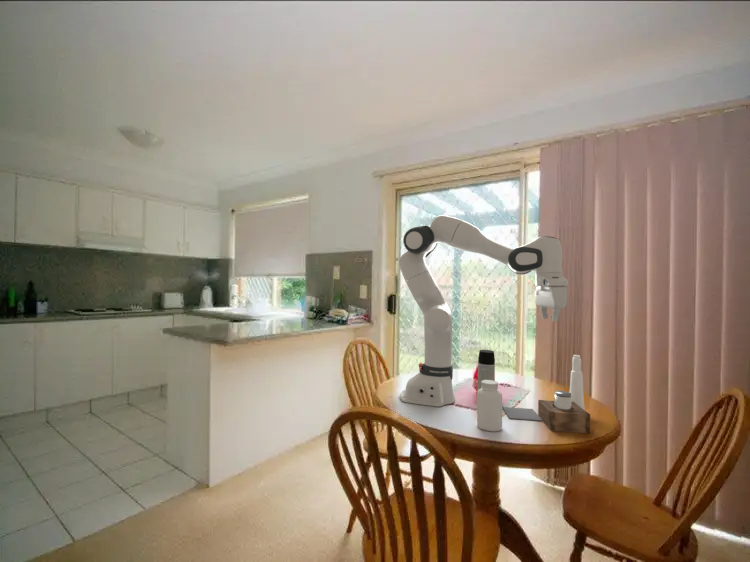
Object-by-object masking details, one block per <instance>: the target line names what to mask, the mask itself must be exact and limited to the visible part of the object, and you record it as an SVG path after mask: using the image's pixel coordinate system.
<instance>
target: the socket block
mask: <svg viewBox="0 0 750 562" xmlns="http://www.w3.org/2000/svg"><path fill="white" fill-rule="evenodd" d="M537 403H538V406H537V407H538V411H537V412H538V413H537V415H538V416H539V417H540V418H541V419H542V420H543V421H542V423H543V424H544V425H545V426H546V427H547V428H548V429H549V430H550V431H553V432H554V431H555V432H556V431H557V432H568V433H581V434H591V414H590V413H589V412H588V411H587V410H586V409H585V410H584V409H582V408H581V407H580V406H578V405H577V404H576V403H575V402H571V410H561V409H558V408H555V400H548V399H538V402H537Z"/></svg>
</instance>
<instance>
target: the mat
mask: <svg viewBox="0 0 750 562" xmlns="http://www.w3.org/2000/svg"><path fill="white" fill-rule="evenodd" d="M503 409H504V410H503ZM502 410H503V411H504V413H505V414H506V416H507V417H508V419H509V420H516V421H517V420H519V421H521V420H522V421H531V422H532V421H534V422H543V420H542V419H541V418H540V417H539V416H538V413H536V411H535V410H534V409H533V408H524V407H510V406H502Z"/></svg>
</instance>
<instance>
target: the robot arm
mask: <svg viewBox="0 0 750 562" xmlns="http://www.w3.org/2000/svg"><path fill="white" fill-rule="evenodd" d="M402 240H403V246H404V248H405V249H406V252H405V253H403V254H402V255H400V257H399V259H398V264H399V268H400V271H401V273H402V274H401V275H402V276H403V279H404V281H405V283H406V285H407V288H408V289H409V292H410V293H411V295H412V297H413V299H414V301H415V302H416V304H417V306H418V308H419V309H420V311H421V313H422V314H423V316H424V317H423V318H424V319H423V325H424V326H423V333H424V337H423V338H424V363H423V362H419V363H418V369H419V372H418V373H417V374H415V375H413V376H412V377H411V378H410V379H408V381H407V382H406V385H405V388H404V390H402V391H401V392H400V395H399V399H400V400H401V402H403V403H408V404H416V405H423V406H430V407H439V408H440V407H443V406H446V405H450V404H453V403H455V401H456V398H455V397H456V396H455V394H454V388H453V378H454V367H453V364H452V363H453V362H452V359H453V358H452V357H453V348H452V347H453V315H452V314H453V313H452V311H451V309H450V307H449V305H448V302H447V301H446V300H445V297H444V296H443V293H442V292H441V290H440V288H439V286H438V284H437V282H436V280H435V278H434V276H433V274H432V273H431V271H430V268H429V267H428V265H427V263H426V258H428V257H429V255H430V254H431V253H432V252H433V251H434V250H435V249H436V248H437V245H438V243H442V244H445V245H448V246H449V247H452V248H454V249H457V250H461V251H465V252H470V253H476V254H480V255H483V256H485V257H488V258H491V259H494V260H496V261H498V262H501V263H503V264H504V265H505V266H506V267H508V269H509V270H510V271H512V272H513V273H514V274H516V275H521V276H522V275H528V274H529V273H531V272H532V271H534V273H535V276H534V277H535V287H536V288H535V296H534V298H535V299H534V300H535V305H536V306H539V308H540V313H541V318H542V319H544V320H545V319H549V313H548V308H549V309H550V308H551V311H552V315H551V321H552V322H559V318H560V317H559V316H560V313H561V309H566V307H567V305H568V304H567V303H568V288H567V287H568V286H569V280H568V279H567V278H565V276H564V271H563V268H562V264H563V260H564V259H563V248H562V244H561V240H559V238H557V237H555V236H548V235H547V236H546V235H544V236H541V235H540V236H538V237H536V238H534V240H532V241H530V242H529V243H528V242H527V243H526V244H524V245H521V246H518V247H515V248H511V247H507V246H505V245H503V244H501V243H498V242H495V241H493V240H492V239H490V238H488V237H487V236H486V235H485V234H484V233H483V232H482V231H481V229H479V227H477V226H475V225H473V224H472V223H470V222H468V221H466V220H462V219H459V218H457V217H454V216H449V215H445V214H439V215H437V216H436V217H435V218H434V219H433V220H432V221H431V223H430V224H429V225H421V226H415V227H412V228H410V229H408V230H407V231H406V232H405V233H404V236H403V239H402Z"/></svg>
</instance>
